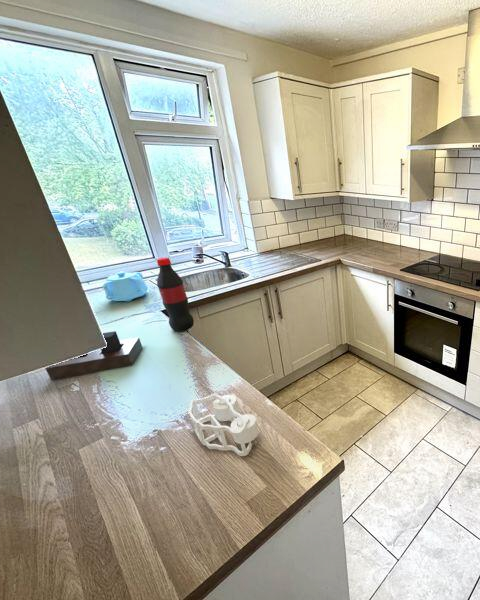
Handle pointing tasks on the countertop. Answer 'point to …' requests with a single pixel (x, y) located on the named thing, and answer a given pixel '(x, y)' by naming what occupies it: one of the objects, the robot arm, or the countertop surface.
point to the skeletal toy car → (224, 410)
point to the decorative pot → (124, 286)
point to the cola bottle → (174, 296)
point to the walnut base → (97, 361)
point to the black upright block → (111, 342)
